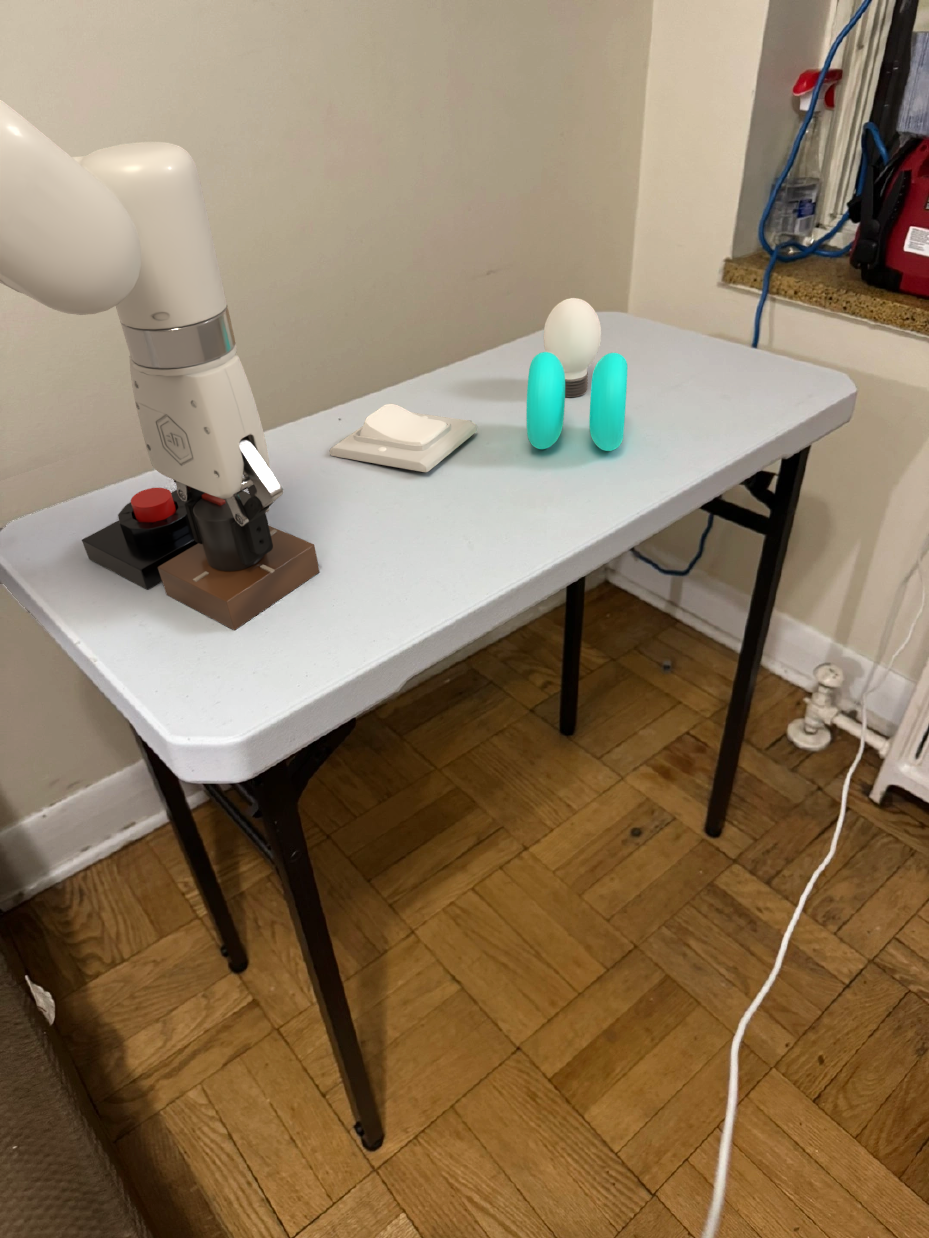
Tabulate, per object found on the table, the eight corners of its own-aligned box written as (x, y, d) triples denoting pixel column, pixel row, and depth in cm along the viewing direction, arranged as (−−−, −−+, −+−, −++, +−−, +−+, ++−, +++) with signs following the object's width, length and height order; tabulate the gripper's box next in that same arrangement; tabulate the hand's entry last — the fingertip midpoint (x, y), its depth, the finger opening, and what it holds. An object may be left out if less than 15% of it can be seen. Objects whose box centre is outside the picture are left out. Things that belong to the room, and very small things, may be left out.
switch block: (147, 590, 76) (134, 552, 74) (88, 559, 81) (74, 522, 78) (242, 534, 83) (233, 497, 81) (182, 508, 88) (172, 472, 85)
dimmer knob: (277, 550, 75) (266, 496, 72) (234, 578, 72) (219, 523, 69) (239, 533, 77) (226, 481, 74) (195, 560, 74) (179, 506, 71)
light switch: (380, 388, 100) (475, 400, 94) (385, 421, 103) (479, 435, 97) (323, 426, 93) (422, 442, 87) (330, 461, 96) (427, 478, 90)
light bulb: (597, 402, 102) (602, 309, 96) (540, 401, 103) (541, 309, 97) (599, 380, 108) (603, 289, 101) (545, 379, 109) (546, 289, 102)
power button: (152, 528, 78) (146, 511, 77) (128, 516, 80) (122, 500, 79) (184, 510, 80) (179, 494, 79) (160, 500, 82) (154, 483, 81)
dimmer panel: (235, 631, 71) (226, 600, 69) (165, 594, 76) (155, 565, 74) (320, 572, 77) (315, 543, 75) (251, 542, 82) (244, 513, 80)
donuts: (534, 423, 99) (534, 337, 93) (622, 425, 97) (628, 338, 91) (525, 465, 91) (524, 374, 85) (621, 468, 90) (628, 376, 83)
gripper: (68, 333, 65) (137, 537, 76) (217, 379, 56) (270, 601, 68) (151, 303, 69) (204, 500, 81) (299, 342, 61) (336, 556, 72)
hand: (234, 544), depth 74 cm, fingers closed on dimmer knob, 5 cm apart
